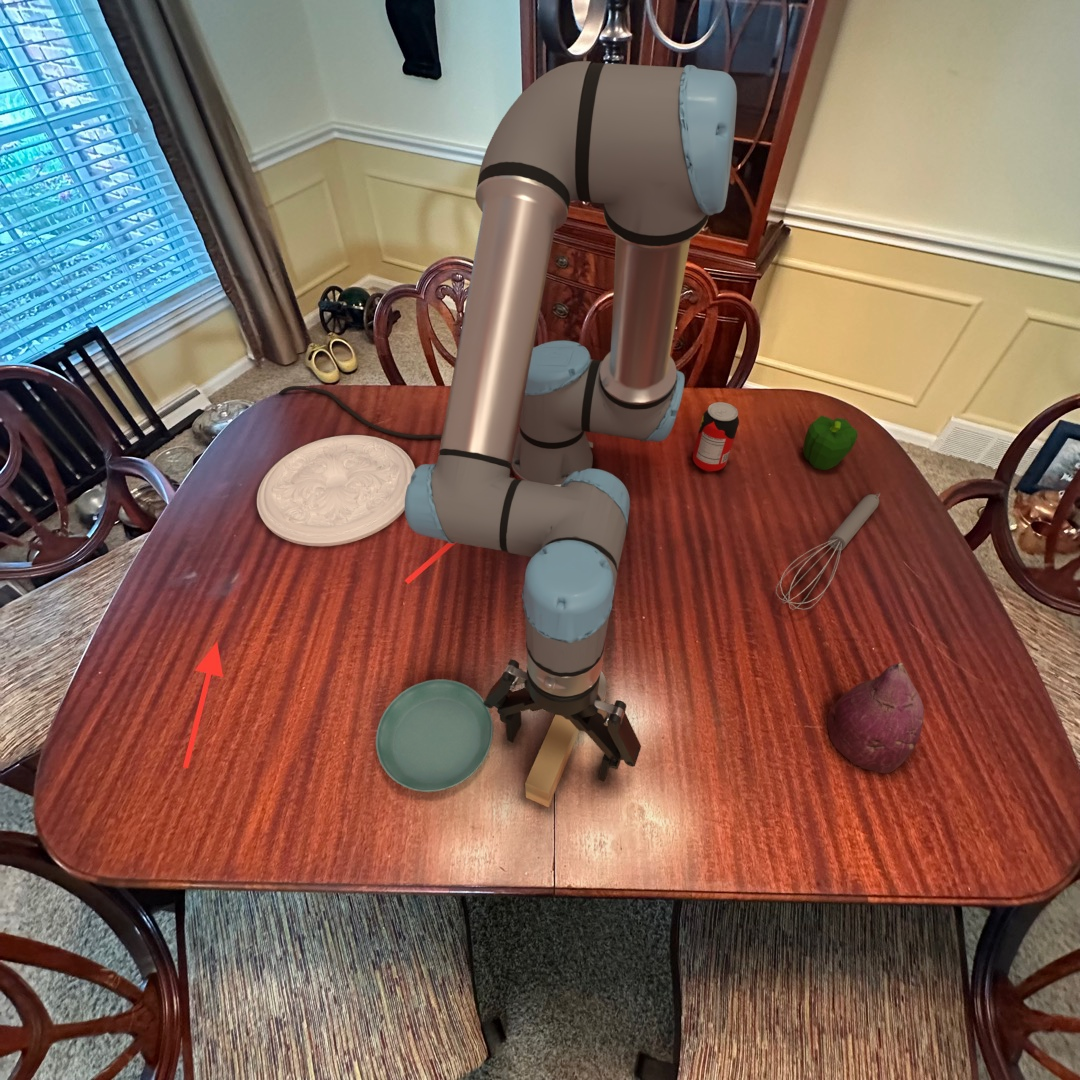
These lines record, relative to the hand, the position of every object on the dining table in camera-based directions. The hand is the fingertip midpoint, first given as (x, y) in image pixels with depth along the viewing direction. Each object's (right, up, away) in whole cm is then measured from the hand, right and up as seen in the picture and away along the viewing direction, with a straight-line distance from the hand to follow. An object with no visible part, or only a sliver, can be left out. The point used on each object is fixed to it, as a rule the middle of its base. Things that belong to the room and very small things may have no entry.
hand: (558, 751), depth 77 cm
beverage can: (+29, +41, +36) cm, 62 cm away
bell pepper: (+50, +42, +37) cm, 75 cm away
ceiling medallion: (-39, +36, +32) cm, 62 cm away
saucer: (-16, +1, +1) cm, 16 cm away
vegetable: (+40, +2, +2) cm, 40 cm away
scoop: (+1, +1, +1) cm, 2 cm away
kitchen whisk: (+45, +25, +22) cm, 56 cm away
